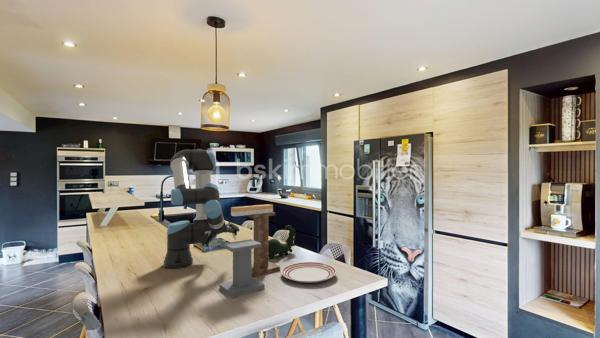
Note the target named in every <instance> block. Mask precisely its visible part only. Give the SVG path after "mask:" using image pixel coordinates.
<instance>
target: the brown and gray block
mask: <svg viewBox="0 0 600 338" xmlns="http://www.w3.org/2000/svg"><path fill="white" fill-rule="evenodd" d="M273 212H274V204H255V205H245V206H244V205H243V206H231V207H230V216H232V217H242V216H246V215H253V214H263V213H273Z"/></svg>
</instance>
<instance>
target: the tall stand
mask: <svg viewBox="0 0 600 338" xmlns="http://www.w3.org/2000/svg"><path fill="white" fill-rule="evenodd" d="M276 213H277V212H274V211H273V213H263V214H253V215H245V216H246V217H247V218H251V219H253V240H254V241H256V242H259V243H262V247H259V248H253V263H251V277H253V278H255V277H258V276H262V275H267V274H271V273H275V272H281V266H280V265H277V264H275V263H273V262H271V261H269V257H268V241H269V236H270V235H269V230H270V229H269V227H270V225H269V223H270V222H269V220H270V219H269V217H271V216H272V217H274V216H276Z"/></svg>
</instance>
